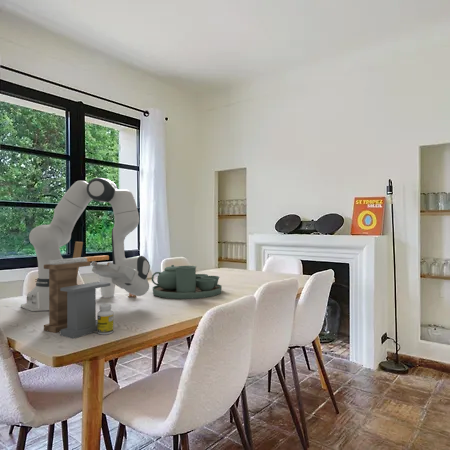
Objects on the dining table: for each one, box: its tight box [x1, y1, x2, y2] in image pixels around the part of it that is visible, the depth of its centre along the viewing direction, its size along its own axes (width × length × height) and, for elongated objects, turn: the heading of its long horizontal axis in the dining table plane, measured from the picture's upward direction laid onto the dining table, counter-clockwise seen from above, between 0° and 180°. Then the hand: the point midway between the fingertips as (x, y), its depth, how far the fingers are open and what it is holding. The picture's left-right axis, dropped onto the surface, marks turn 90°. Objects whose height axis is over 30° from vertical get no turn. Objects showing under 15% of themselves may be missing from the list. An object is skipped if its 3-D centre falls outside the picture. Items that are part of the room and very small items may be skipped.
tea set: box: [151, 264, 222, 300], centre depth 206 cm, size 40×40×16 cm
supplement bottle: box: [96, 303, 114, 336], centre depth 127 cm, size 5×5×10 cm
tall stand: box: [43, 261, 92, 334], centre depth 135 cm, size 7×15×24 cm, turn 150°
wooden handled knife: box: [50, 255, 110, 265], centre depth 141 cm, size 3×25×2 cm, turn 150°
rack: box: [59, 281, 110, 339], centre depth 129 cm, size 7×16×16 cm, turn 150°
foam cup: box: [98, 275, 116, 299], centre depth 195 cm, size 10×9×13 cm
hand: (100, 263), depth 149 cm, fingers open, 8 cm apart
